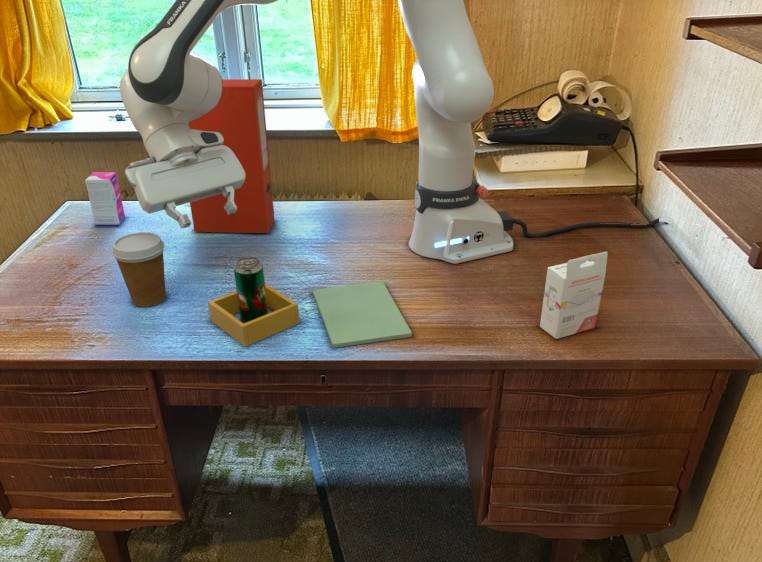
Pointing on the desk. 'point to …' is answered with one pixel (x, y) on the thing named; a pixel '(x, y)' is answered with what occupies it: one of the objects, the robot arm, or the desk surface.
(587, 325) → the ink cartridge box
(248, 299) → the soda can
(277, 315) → the frame
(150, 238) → the disposable coffee cup
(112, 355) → the desk surface
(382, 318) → the green mat
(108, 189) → the supplement box
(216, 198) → the file binder
